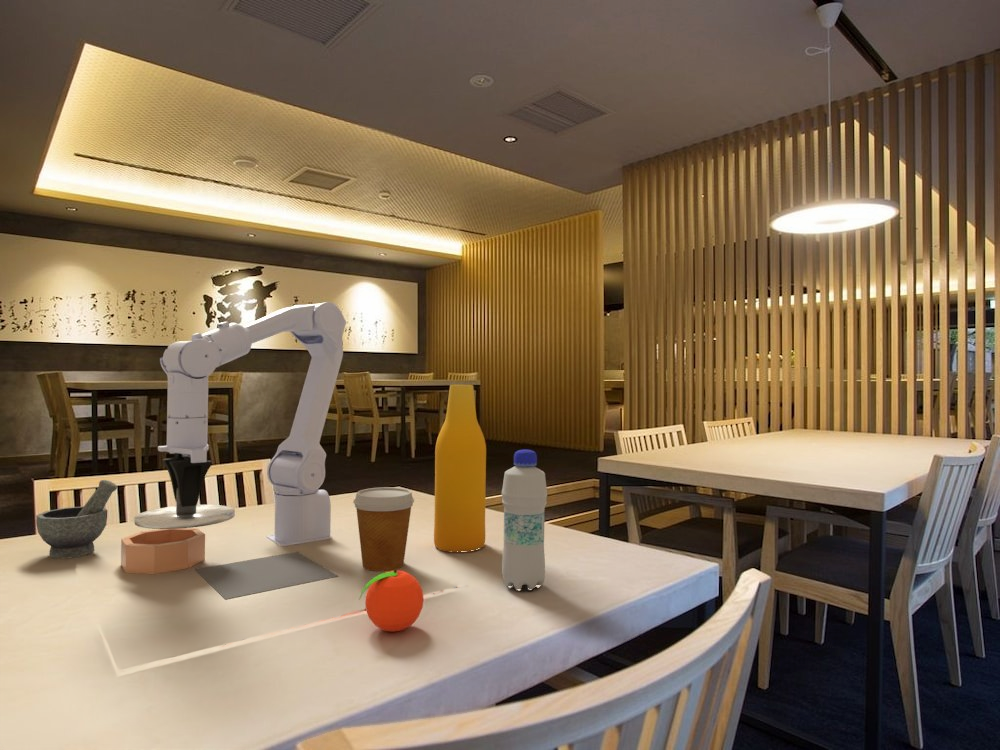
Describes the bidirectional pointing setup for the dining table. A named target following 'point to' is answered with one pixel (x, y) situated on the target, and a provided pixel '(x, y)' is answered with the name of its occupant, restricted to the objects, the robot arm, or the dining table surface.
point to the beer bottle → (460, 476)
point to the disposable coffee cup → (383, 526)
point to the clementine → (393, 600)
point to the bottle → (524, 522)
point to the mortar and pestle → (75, 524)
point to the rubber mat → (263, 574)
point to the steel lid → (184, 516)
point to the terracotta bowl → (162, 550)
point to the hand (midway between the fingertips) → (186, 503)
